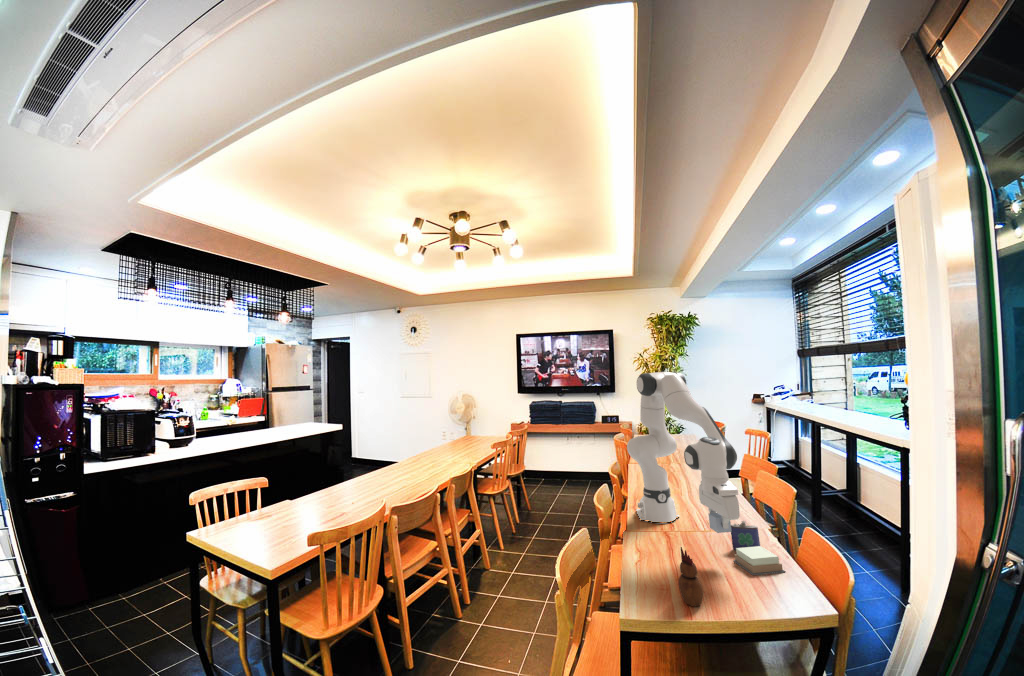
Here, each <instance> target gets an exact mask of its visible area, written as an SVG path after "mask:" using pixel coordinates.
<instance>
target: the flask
mask: <svg viewBox="0 0 1024 676" xmlns="http://www.w3.org/2000/svg"><path fill="white" fill-rule="evenodd" d="M731 531H732V532H730V535H731V544H732V550H733V551H734V552H736V548H744V547H756V546H761V542H760V533H759V528H758V526H757V525H747V523H746V521H745V520H742V521H741V523H737V524H736V523H733V524H732V523H731Z"/></svg>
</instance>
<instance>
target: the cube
mask: <svg viewBox="0 0 1024 676" xmlns="http://www.w3.org/2000/svg"><path fill="white" fill-rule="evenodd" d="M722 520H723V518H722V516H721V515H720V514H718V513H717V512H716V513H710V512H709V513H708V521H709V523H708V524H709V528H710V529H711V530H713V532H716V533H717V534H722V533H731V532H732V531H731V525H732V521H731V520H729V523H728V525H729V528H727V529H724V528H723V527H722V526H721V522H722Z"/></svg>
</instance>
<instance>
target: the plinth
mask: <svg viewBox="0 0 1024 676" xmlns="http://www.w3.org/2000/svg"><path fill="white" fill-rule="evenodd" d="M735 552H736V554H735V553H734V560H735V561H737V562H738V563H740V564H741V565H742V566H744V567H745V568H747V569H748V570H750V571H751V572H752V573H761V572H772V571H783V570H784V569H783V563H781V562H780V558H779V556H778V555H777V554H775V553H773V551H772V552H771V551H770V550H768V549H766V548H765V547H763V546H762V545H760V546H756V547H744V548H736V551H735Z"/></svg>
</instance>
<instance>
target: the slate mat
mask: <svg viewBox="0 0 1024 676" xmlns="http://www.w3.org/2000/svg"><path fill="white" fill-rule="evenodd" d="M732 561H733V562H734V563H735V564H737V565H738V566H739V567H741V568H742V569H743V570H745V571H746V572H748V573H749V574H750V575H752V576H759V575H760V576H761V575H770V574H771V575H772V574H781V573H786V570H785V569H783V571H772V572H761V573H752V572H751V571H750V570H748V569H747V568H745V567H744V566H742V565H741V564H740V563H738V562H737V561H735V559H733V560H732Z"/></svg>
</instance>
